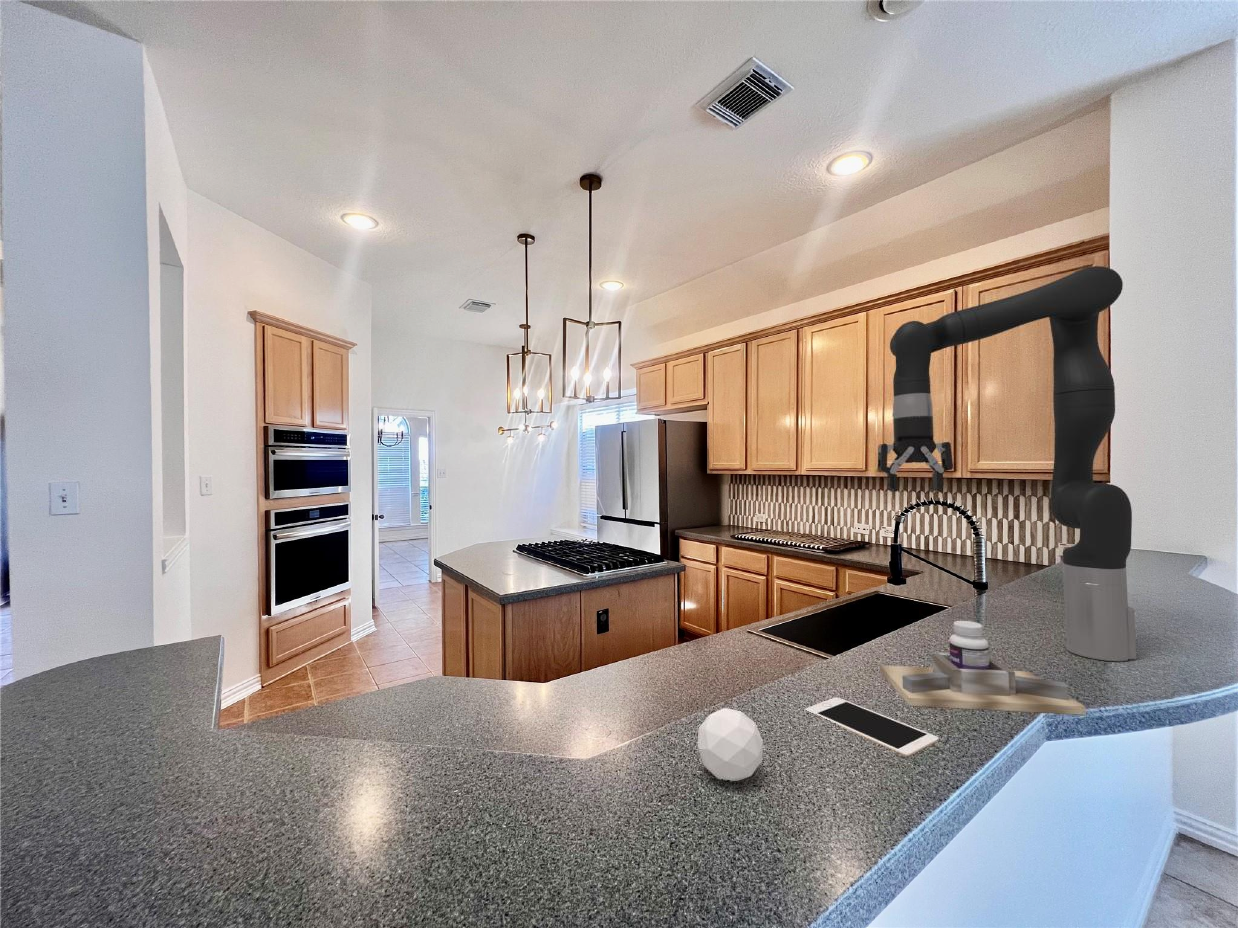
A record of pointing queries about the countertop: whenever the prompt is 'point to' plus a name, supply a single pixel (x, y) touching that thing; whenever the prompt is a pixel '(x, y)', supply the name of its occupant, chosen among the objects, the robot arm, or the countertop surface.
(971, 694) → the base
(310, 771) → the countertop surface
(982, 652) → the pill bottle
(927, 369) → the robot arm
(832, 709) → the cell phone
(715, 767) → the ball
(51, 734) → the countertop surface
